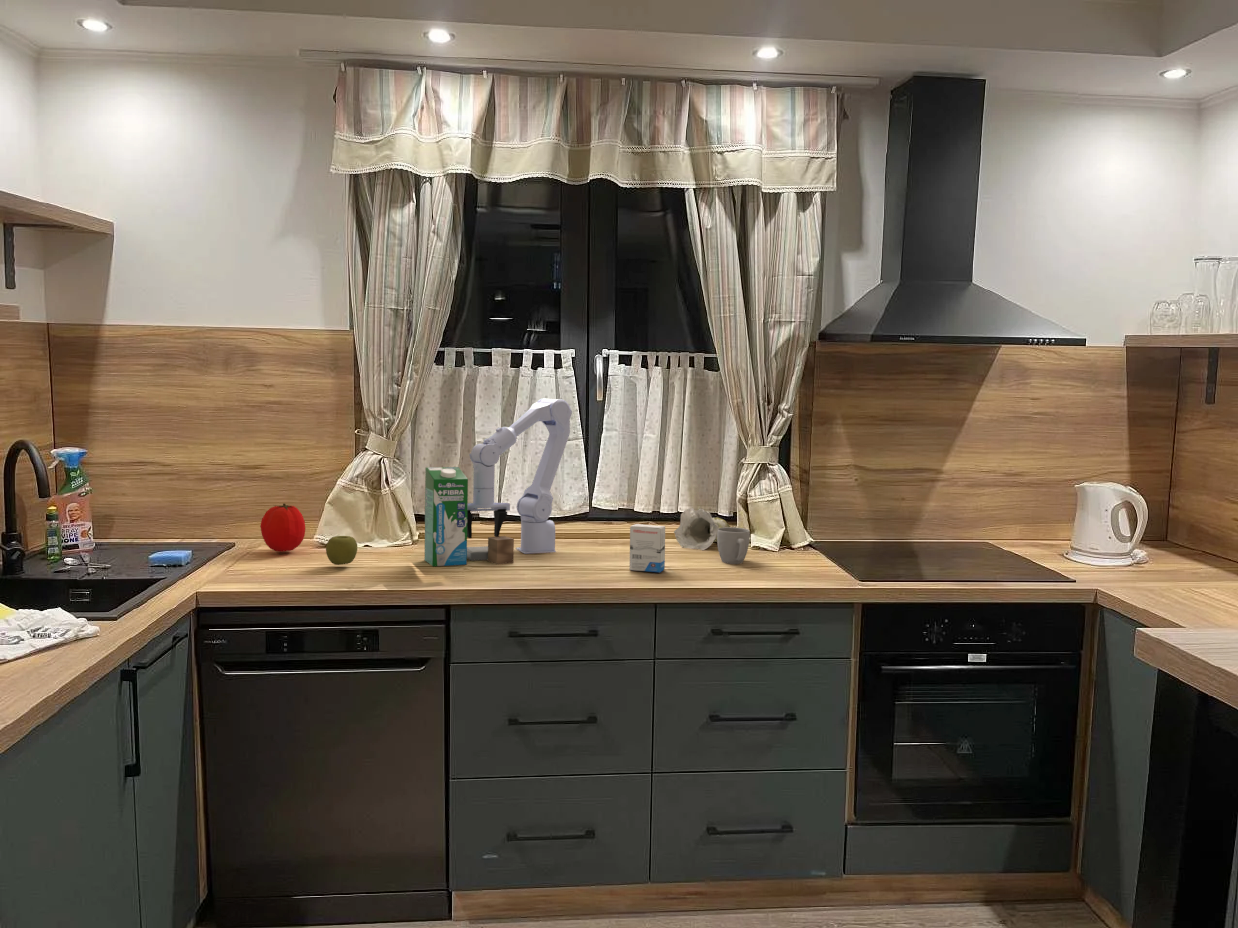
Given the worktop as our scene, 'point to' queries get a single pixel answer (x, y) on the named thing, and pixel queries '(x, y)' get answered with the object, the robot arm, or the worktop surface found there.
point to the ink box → (647, 548)
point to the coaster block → (477, 553)
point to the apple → (341, 549)
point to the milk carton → (446, 516)
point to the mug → (733, 544)
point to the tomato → (283, 528)
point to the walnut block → (500, 550)
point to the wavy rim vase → (698, 529)
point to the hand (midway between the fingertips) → (483, 537)
